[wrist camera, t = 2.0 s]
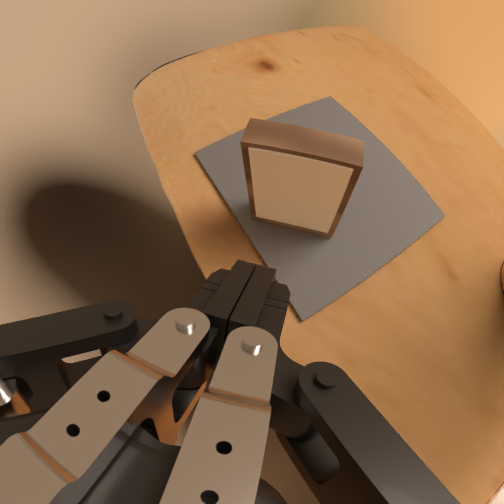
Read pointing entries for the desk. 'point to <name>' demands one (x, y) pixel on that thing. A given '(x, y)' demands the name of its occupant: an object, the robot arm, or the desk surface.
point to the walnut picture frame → (299, 175)
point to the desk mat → (350, 225)
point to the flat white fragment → (497, 496)
